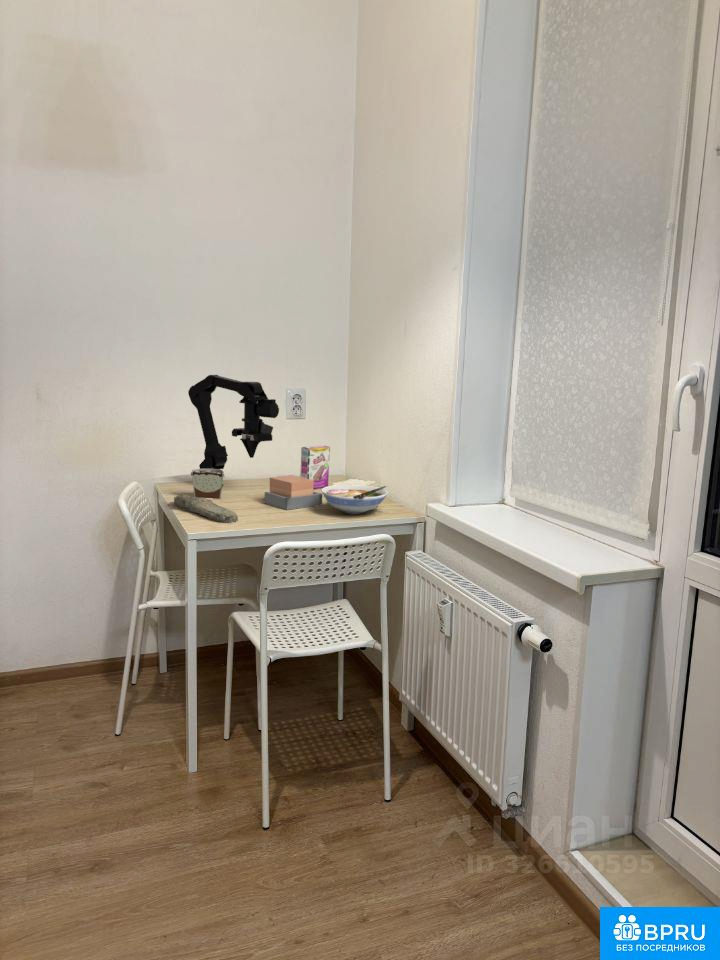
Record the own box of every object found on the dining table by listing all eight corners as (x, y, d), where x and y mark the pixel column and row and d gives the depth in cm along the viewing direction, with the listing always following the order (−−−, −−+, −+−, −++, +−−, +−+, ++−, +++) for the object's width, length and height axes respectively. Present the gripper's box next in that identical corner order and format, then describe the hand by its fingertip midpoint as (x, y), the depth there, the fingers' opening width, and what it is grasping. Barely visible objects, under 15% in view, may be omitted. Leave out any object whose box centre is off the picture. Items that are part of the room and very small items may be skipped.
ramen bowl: (340, 501, 282) (341, 479, 281) (398, 509, 272) (399, 486, 271) (306, 514, 260) (307, 490, 258) (368, 523, 250) (369, 498, 249)
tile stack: (269, 502, 276) (269, 477, 275) (291, 499, 283) (291, 474, 282) (291, 508, 268) (291, 483, 266) (312, 505, 275) (313, 480, 273)
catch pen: (264, 503, 274) (264, 492, 274) (299, 498, 285) (299, 487, 284) (287, 510, 265) (287, 498, 264) (322, 504, 275) (322, 493, 274)
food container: (228, 496, 284) (228, 469, 282) (224, 499, 278) (224, 472, 276) (195, 494, 285) (195, 467, 283) (190, 497, 279) (190, 470, 277)
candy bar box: (308, 490, 299) (309, 448, 296) (299, 488, 303) (300, 446, 300) (329, 487, 307) (330, 446, 304) (320, 485, 311) (321, 444, 308)
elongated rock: (218, 530, 241) (245, 527, 248) (219, 513, 240) (247, 511, 247) (165, 503, 267) (191, 501, 273) (166, 488, 266) (192, 487, 272)
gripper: (284, 417, 287) (283, 459, 290) (255, 412, 300) (255, 452, 303) (259, 418, 280) (259, 461, 282) (231, 413, 293) (230, 454, 296)
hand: (251, 457), depth 291 cm, fingers closed
